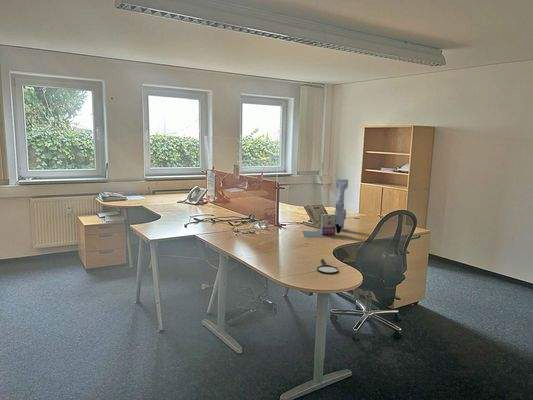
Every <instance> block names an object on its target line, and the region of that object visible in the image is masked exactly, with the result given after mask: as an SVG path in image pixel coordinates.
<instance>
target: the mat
mask: <svg viewBox="0 0 533 400" xmlns="http://www.w3.org/2000/svg"><path fill="white" fill-rule="evenodd" d="M302 234H303V236H304V237H305V238H326V239H327V238H329V235H322V234H321V230H320V231H319V230H317V231H316V230H315V231H314V230H302Z"/></svg>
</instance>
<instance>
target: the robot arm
mask: <svg viewBox="0 0 533 400" xmlns="http://www.w3.org/2000/svg"><path fill="white" fill-rule="evenodd" d="M335 185H336V189H338V194H337V196H336V202H335V210H334V214H335V215H336V227H335V232H336V234H340V233H341V231H344V232H345V231H346V229H345V220H346V219H347V210H346V209H345V192H346V190H347V189H348V188H349V179H346V178H336V180H335Z"/></svg>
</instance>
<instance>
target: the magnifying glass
mask: <svg viewBox="0 0 533 400" xmlns="http://www.w3.org/2000/svg"><path fill="white" fill-rule="evenodd" d="M320 263H321V265H320V266H317V268H316V270H317V271H316V272H318V273H320V274H324V275H335V274H338V273H339V268H337V267H336V266H332V265H330V264H327V263H326V261H325V259H324V258H321V259H320Z"/></svg>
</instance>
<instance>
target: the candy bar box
mask: <svg viewBox="0 0 533 400" xmlns="http://www.w3.org/2000/svg"><path fill="white" fill-rule="evenodd" d="M320 215H321V217H320V218H321V219H320V231H321V234H322V235H327V236H333V235H336V230H335V227H336V215H335V213H332V214H331V213H321V214H320Z"/></svg>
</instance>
